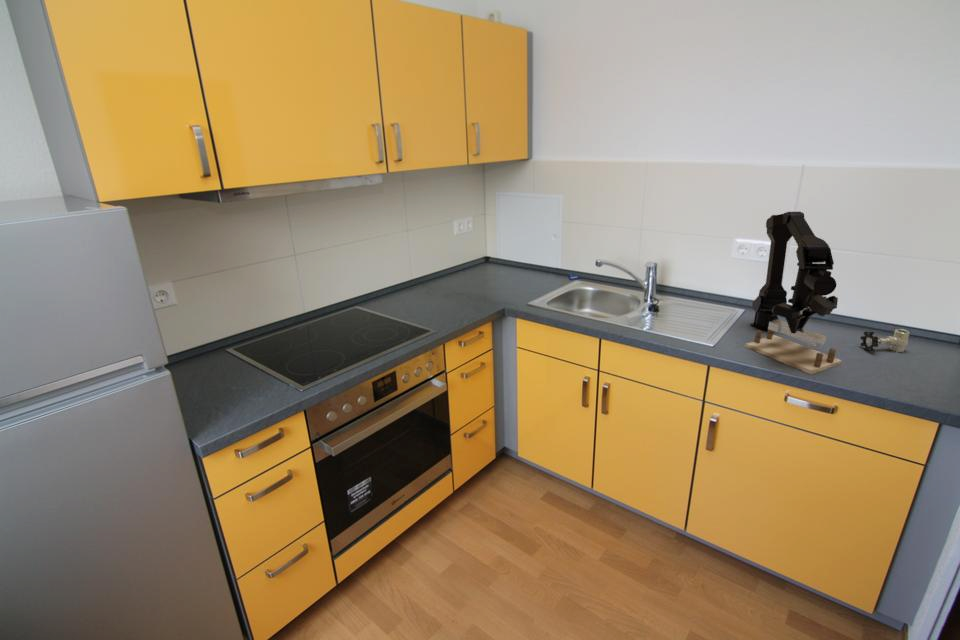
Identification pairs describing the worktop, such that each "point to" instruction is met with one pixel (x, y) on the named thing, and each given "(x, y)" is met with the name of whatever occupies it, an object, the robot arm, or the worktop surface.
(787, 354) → the peg board
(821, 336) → the beige stepped post
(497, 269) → the worktop surface
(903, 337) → the valve
